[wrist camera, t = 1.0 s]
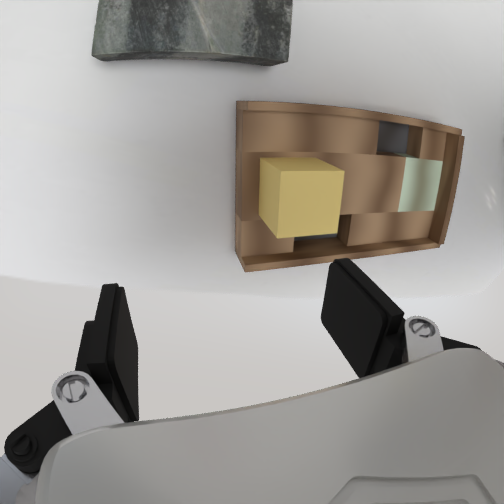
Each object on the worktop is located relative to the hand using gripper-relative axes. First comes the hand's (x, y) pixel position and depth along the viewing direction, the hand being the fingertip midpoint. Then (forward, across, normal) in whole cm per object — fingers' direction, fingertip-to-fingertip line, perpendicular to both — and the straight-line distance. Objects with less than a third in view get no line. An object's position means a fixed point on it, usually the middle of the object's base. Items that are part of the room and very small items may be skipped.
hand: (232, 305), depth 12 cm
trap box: (+18, -16, 0) cm, 24 cm away
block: (+16, -8, 0) cm, 17 cm away
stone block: (+19, 0, -15) cm, 24 cm away
